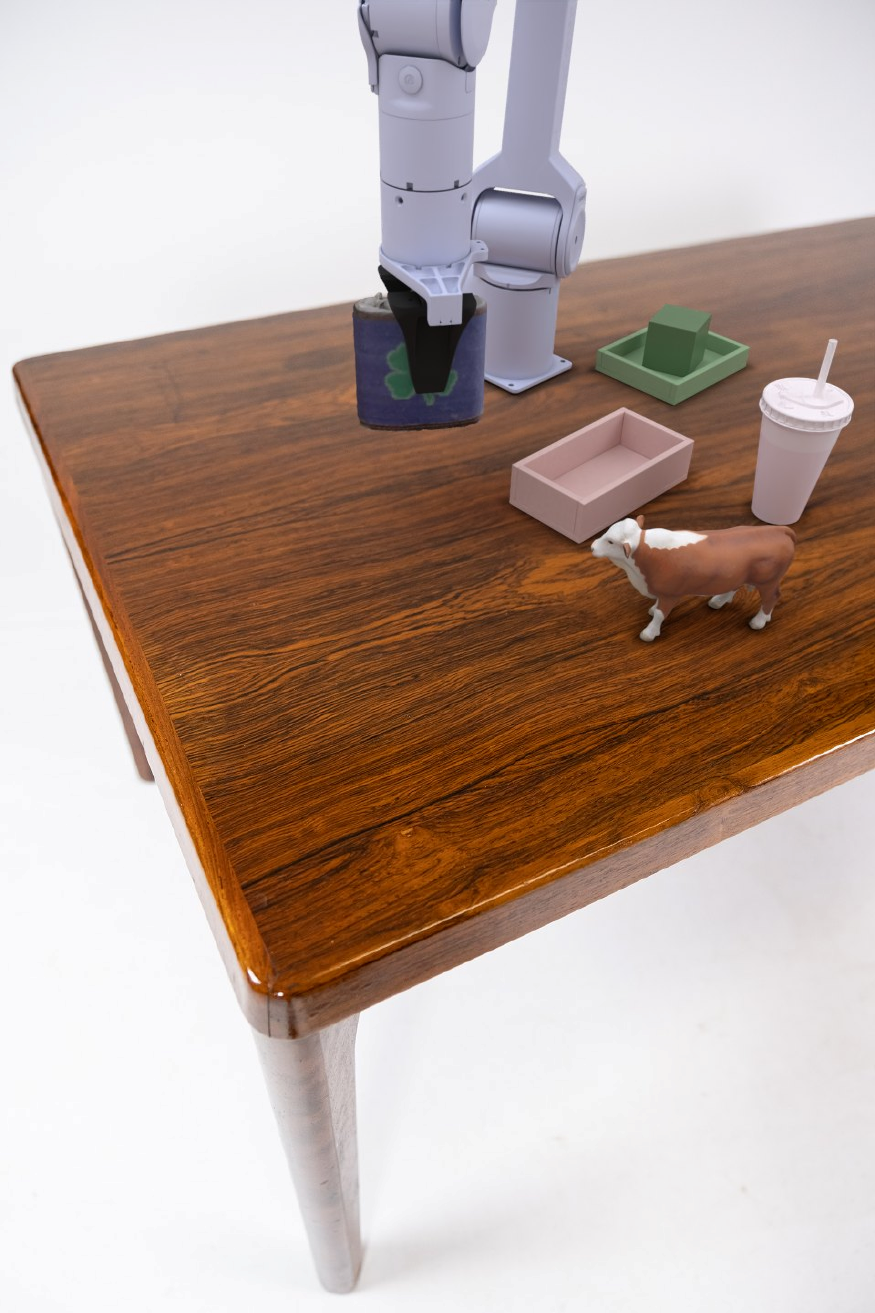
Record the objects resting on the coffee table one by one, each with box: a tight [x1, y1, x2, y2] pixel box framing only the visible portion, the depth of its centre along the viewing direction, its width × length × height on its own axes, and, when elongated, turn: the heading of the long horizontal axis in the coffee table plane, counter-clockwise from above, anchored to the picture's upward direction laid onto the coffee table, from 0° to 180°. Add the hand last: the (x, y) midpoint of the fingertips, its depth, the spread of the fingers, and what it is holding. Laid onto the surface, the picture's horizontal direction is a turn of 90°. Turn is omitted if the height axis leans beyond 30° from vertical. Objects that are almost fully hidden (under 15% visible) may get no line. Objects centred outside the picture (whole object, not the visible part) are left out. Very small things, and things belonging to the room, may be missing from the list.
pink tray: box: [508, 406, 695, 545], centre depth 79 cm, size 7×13×4 cm, turn 133°
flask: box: [351, 289, 487, 433], centre depth 70 cm, size 9×3×11 cm, turn 95°
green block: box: [642, 303, 713, 377], centre depth 94 cm, size 4×4×4 cm
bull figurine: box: [590, 514, 797, 642], centre depth 66 cm, size 4×13×8 cm, turn 95°
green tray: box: [594, 326, 751, 406], centre depth 95 cm, size 9×11×2 cm
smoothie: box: [750, 338, 855, 526], centre depth 74 cm, size 6×6×14 cm
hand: (425, 379), depth 72 cm, fingers closed on flask, 3 cm apart
